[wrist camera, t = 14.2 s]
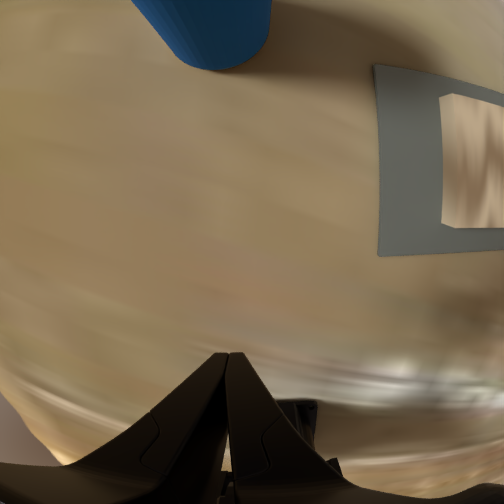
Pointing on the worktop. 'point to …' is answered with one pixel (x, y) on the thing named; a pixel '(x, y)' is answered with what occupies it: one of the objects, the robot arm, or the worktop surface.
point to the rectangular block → (472, 162)
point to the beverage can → (210, 29)
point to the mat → (419, 165)
